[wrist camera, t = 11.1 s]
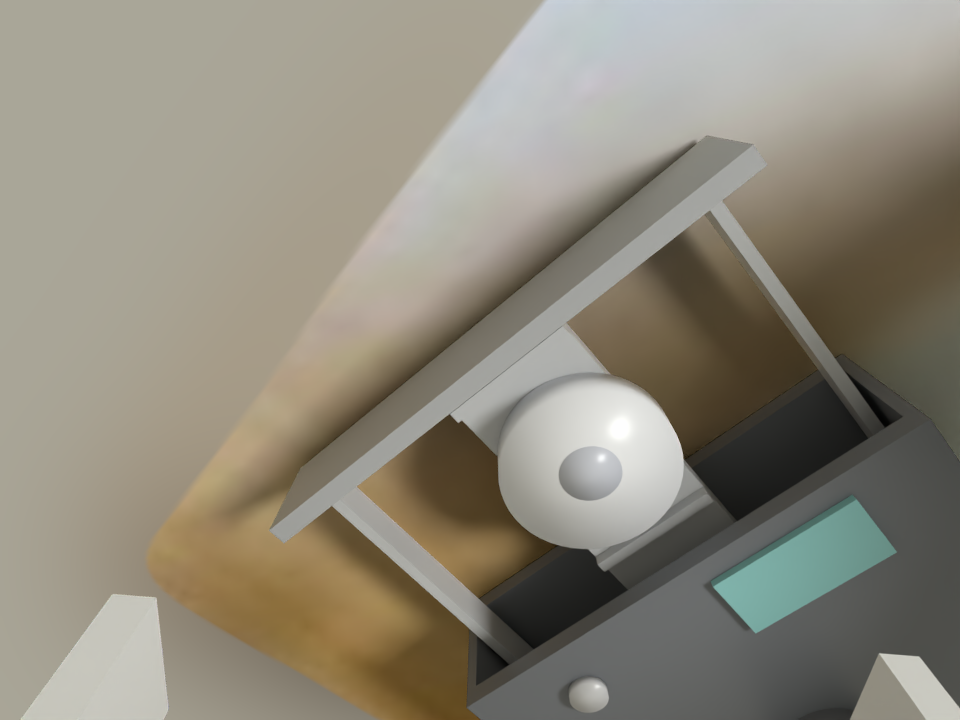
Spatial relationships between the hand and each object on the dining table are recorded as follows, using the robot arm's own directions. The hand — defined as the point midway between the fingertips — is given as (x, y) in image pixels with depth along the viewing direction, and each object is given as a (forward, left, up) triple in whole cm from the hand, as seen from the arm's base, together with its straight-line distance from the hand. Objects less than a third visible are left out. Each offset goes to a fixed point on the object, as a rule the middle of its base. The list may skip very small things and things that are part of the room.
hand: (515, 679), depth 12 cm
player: (+11, +14, -17) cm, 25 cm away
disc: (+3, +4, -14) cm, 15 cm away
